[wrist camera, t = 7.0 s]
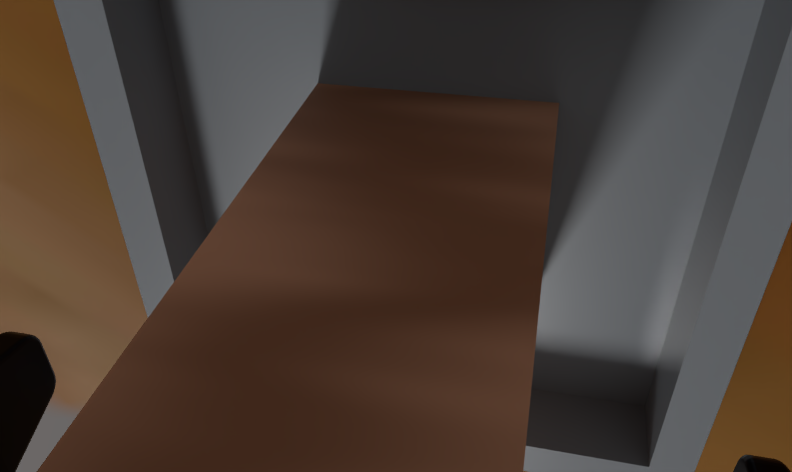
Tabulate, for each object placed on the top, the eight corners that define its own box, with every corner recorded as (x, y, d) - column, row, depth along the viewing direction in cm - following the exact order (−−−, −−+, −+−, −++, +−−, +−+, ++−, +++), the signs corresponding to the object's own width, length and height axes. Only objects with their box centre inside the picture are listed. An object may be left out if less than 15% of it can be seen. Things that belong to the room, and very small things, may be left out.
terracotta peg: (559, 102, 11) (473, 985, 4) (535, 293, 14) (450, 1074, 6) (317, 83, 12) (-187, 780, 4) (334, 267, 15) (27, 930, 7)
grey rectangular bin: (850, -139, 10) (914, -97, 8) (673, 401, 16) (683, 499, 14) (114, -158, 12) (15, -128, 10) (220, 330, 18) (174, 408, 16)
